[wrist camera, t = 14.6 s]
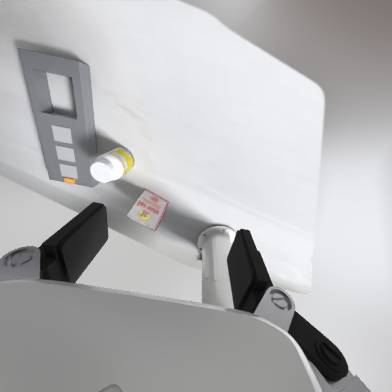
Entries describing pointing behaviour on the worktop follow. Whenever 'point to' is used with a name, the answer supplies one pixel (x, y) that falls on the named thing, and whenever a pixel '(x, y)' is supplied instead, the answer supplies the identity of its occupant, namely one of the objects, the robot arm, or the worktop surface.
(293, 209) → the worktop surface
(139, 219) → the white gable-top box
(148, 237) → the worktop surface
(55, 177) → the power strip
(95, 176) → the supplement bottle
